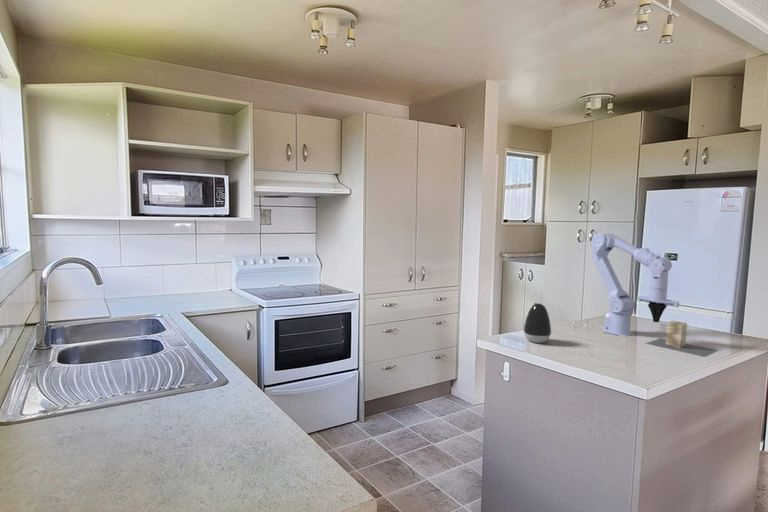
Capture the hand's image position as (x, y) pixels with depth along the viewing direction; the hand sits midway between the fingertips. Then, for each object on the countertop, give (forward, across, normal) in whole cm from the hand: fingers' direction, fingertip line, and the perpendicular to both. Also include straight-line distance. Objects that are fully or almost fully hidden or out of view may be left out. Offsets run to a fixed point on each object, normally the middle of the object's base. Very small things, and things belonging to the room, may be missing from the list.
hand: (656, 321), depth 180 cm
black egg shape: (+8, +27, +40) cm, 49 cm away
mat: (+8, -9, 0) cm, 13 cm away
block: (+8, -7, 0) cm, 11 cm away
